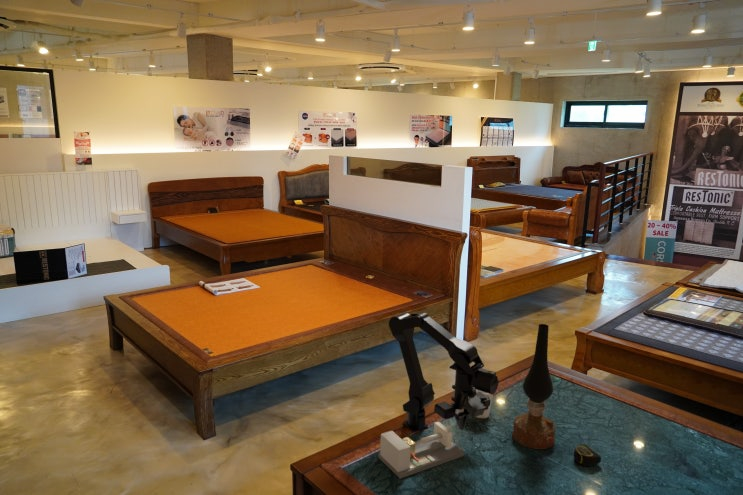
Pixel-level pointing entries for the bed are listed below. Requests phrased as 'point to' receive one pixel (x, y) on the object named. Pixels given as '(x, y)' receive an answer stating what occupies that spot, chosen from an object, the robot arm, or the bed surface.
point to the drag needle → (412, 445)
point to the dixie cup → (486, 412)
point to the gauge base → (428, 454)
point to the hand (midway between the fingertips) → (461, 429)
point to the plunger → (439, 435)
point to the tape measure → (586, 456)
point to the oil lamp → (536, 400)
